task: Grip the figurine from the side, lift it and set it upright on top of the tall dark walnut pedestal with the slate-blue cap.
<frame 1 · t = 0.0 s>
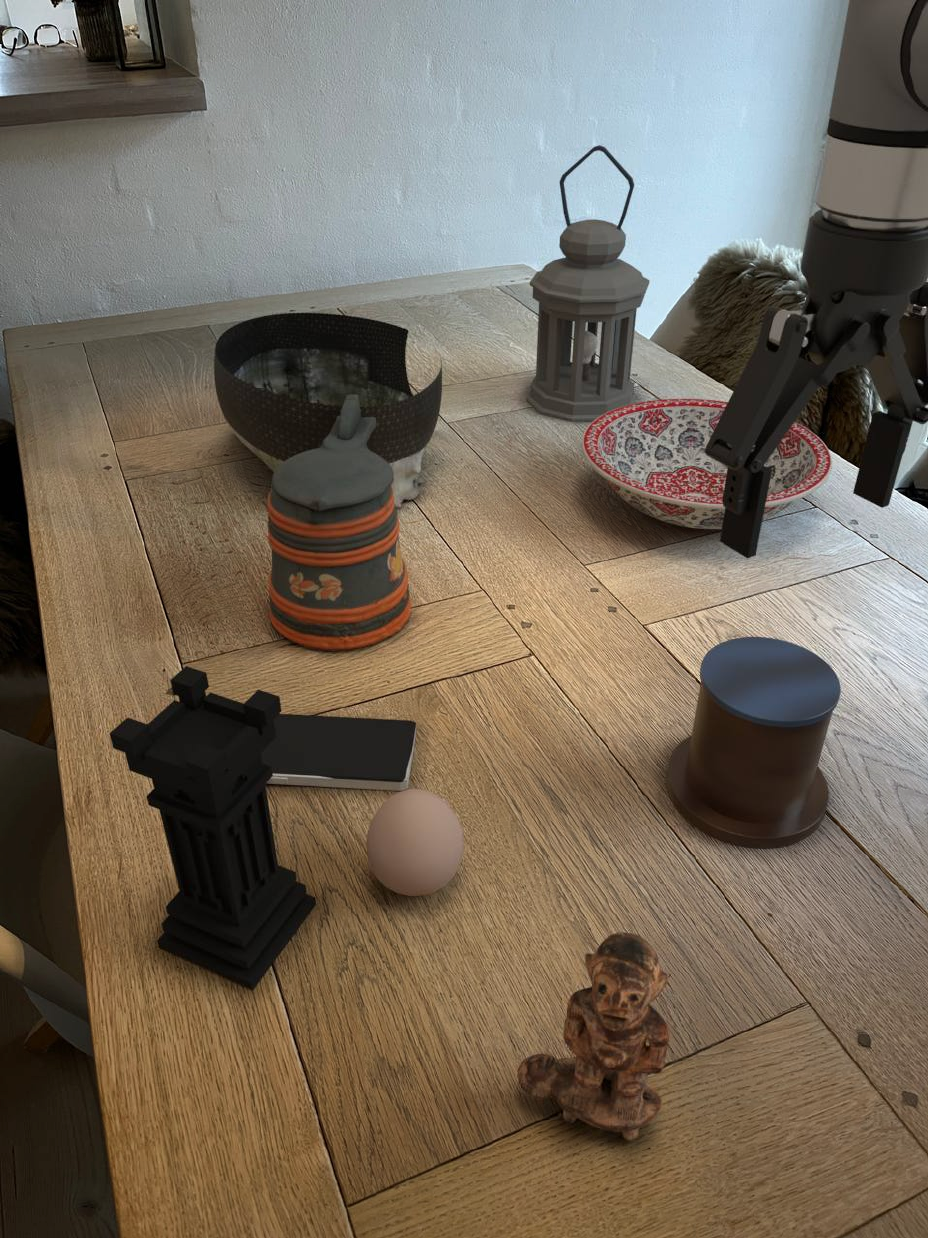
hand: (806, 523, 72), 24 cm above the table, tool pointing down, fingers open, 13 cm apart
egg: (416, 881, 76), on the table
tankard: (344, 601, 107), on the table
smartphone: (326, 757, 87), on the table
pedestal: (744, 789, 84), on the table
ceramic bowl: (695, 507, 124), on the table
figurine: (584, 1112, 61), on the table
basket: (334, 464, 133), on the table
chess piece: (239, 927, 72), on the table
lantern: (581, 400, 151), on the table
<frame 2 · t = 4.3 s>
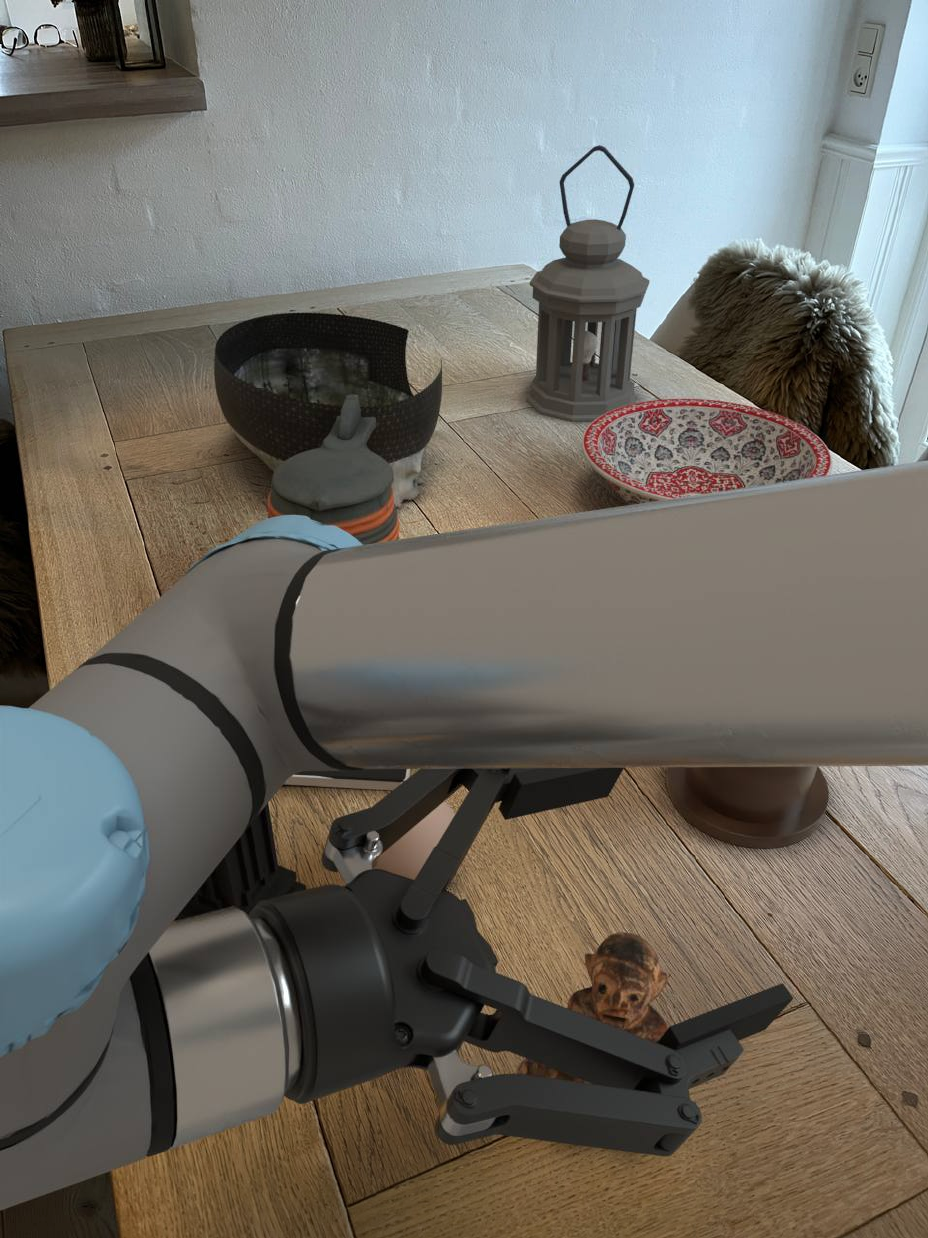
hand: (687, 880, 49), 21 cm above the table, tool horizontal, fingers open, 13 cm apart
nothing on the table moved.
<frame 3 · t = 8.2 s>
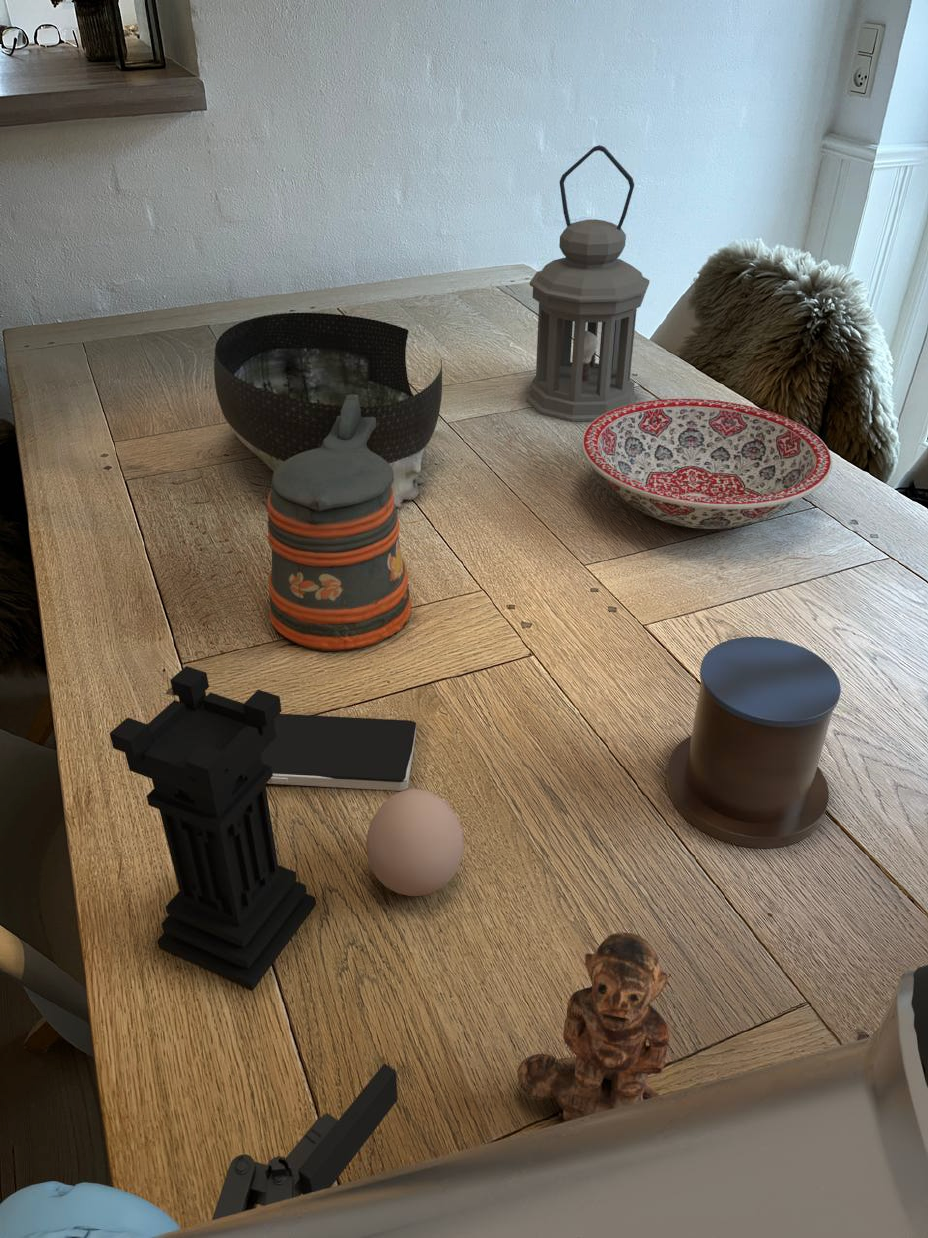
hand: (502, 1156, 49), 10 cm above the table, tool horizontal, fingers open, 13 cm apart
nothing on the table moved.
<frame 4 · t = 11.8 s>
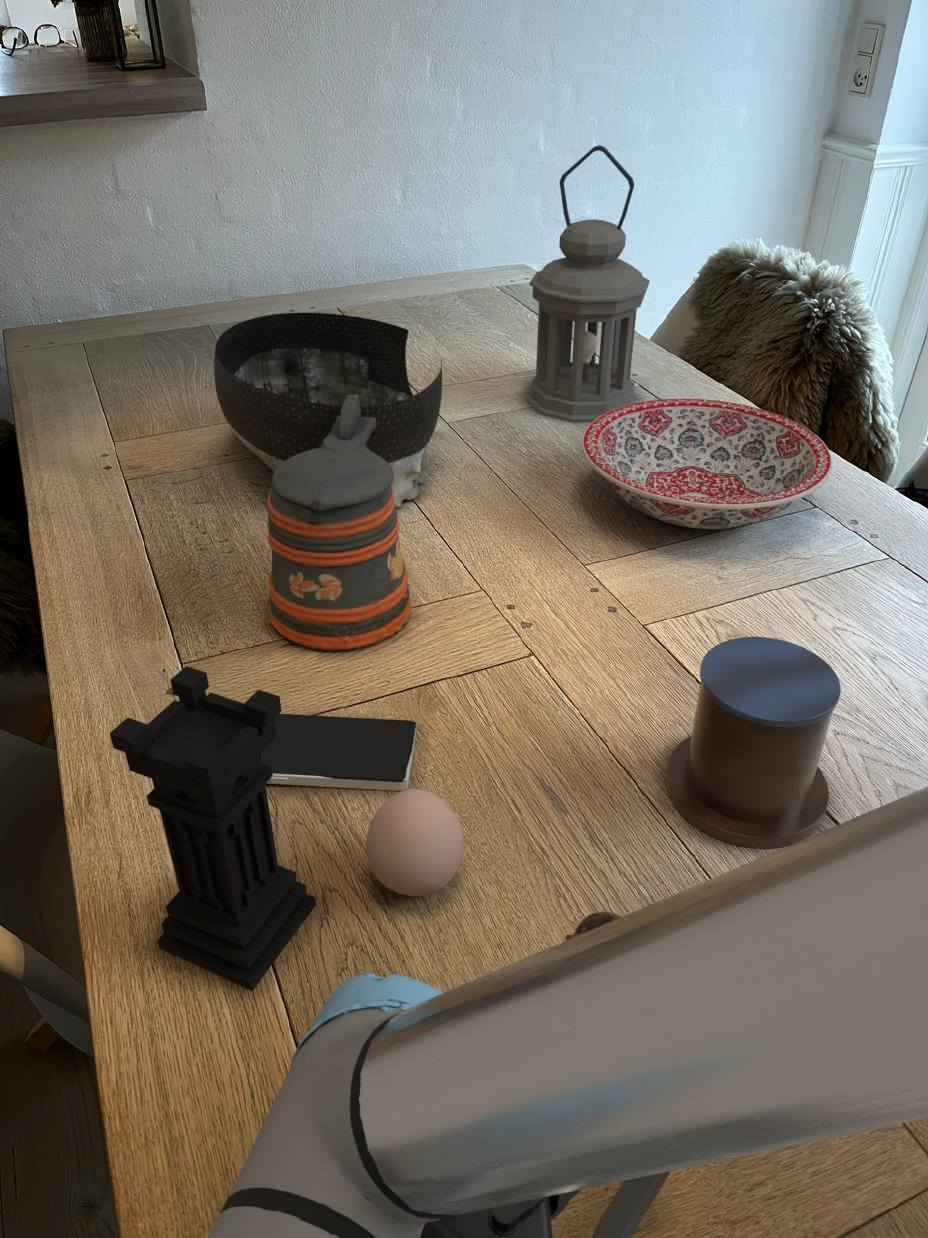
hand: (636, 970, 60), 8 cm above the table, tool horizontal, fingers closed on figurine, 6 cm apart
figurine: (585, 1110, 61), on the table, touching gripper
everything else where it was.
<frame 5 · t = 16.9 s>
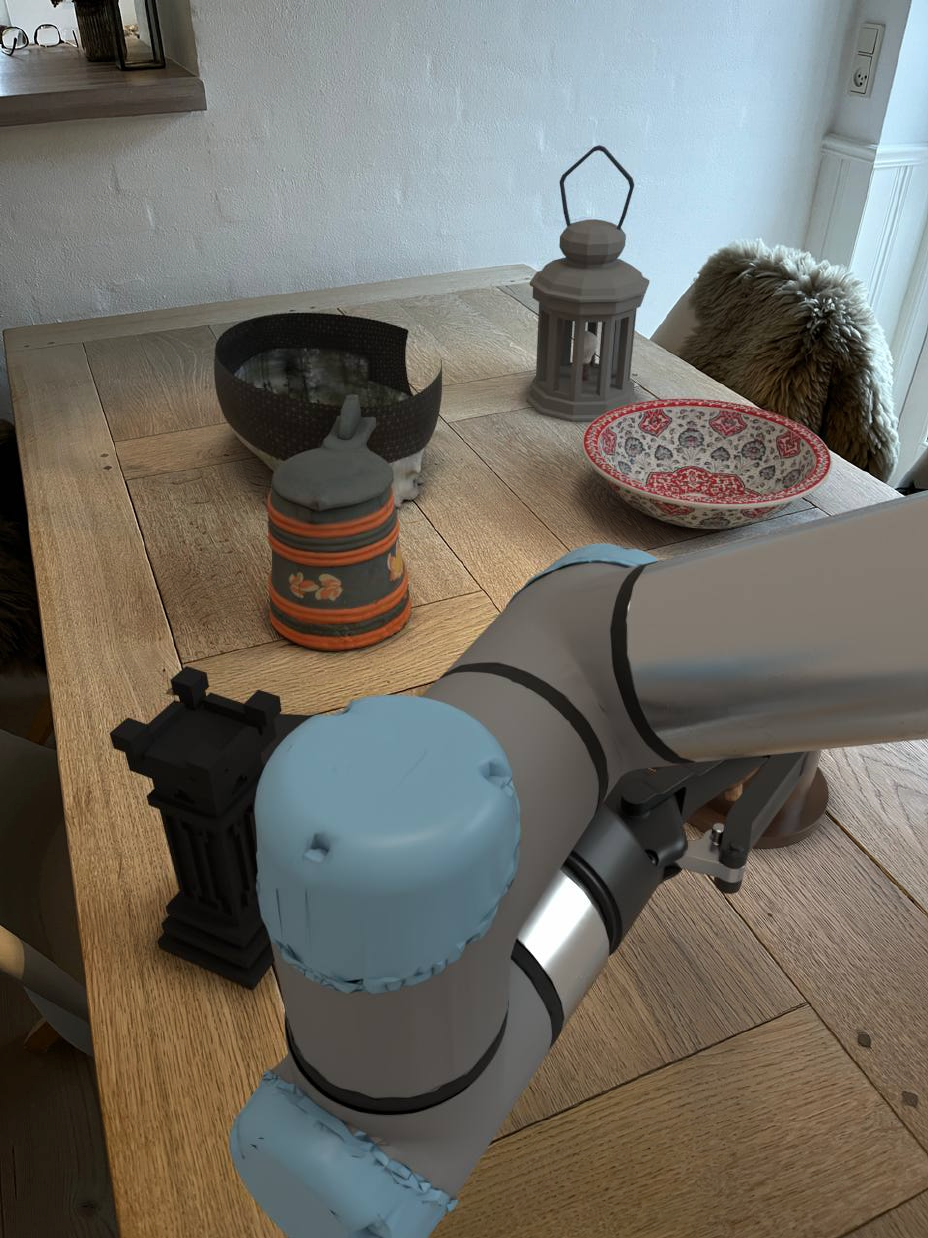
hand: (738, 640, 59), 25 cm above the table, tool horizontal, fingers closed on figurine, 6 cm apart
figurine: (684, 790, 60), point 17 cm above the table, touching gripper
everything else where it was.
when the fingers open (20 cm above the table, at t = 21.9 s): figurine stays where it is, resting on pedestal.
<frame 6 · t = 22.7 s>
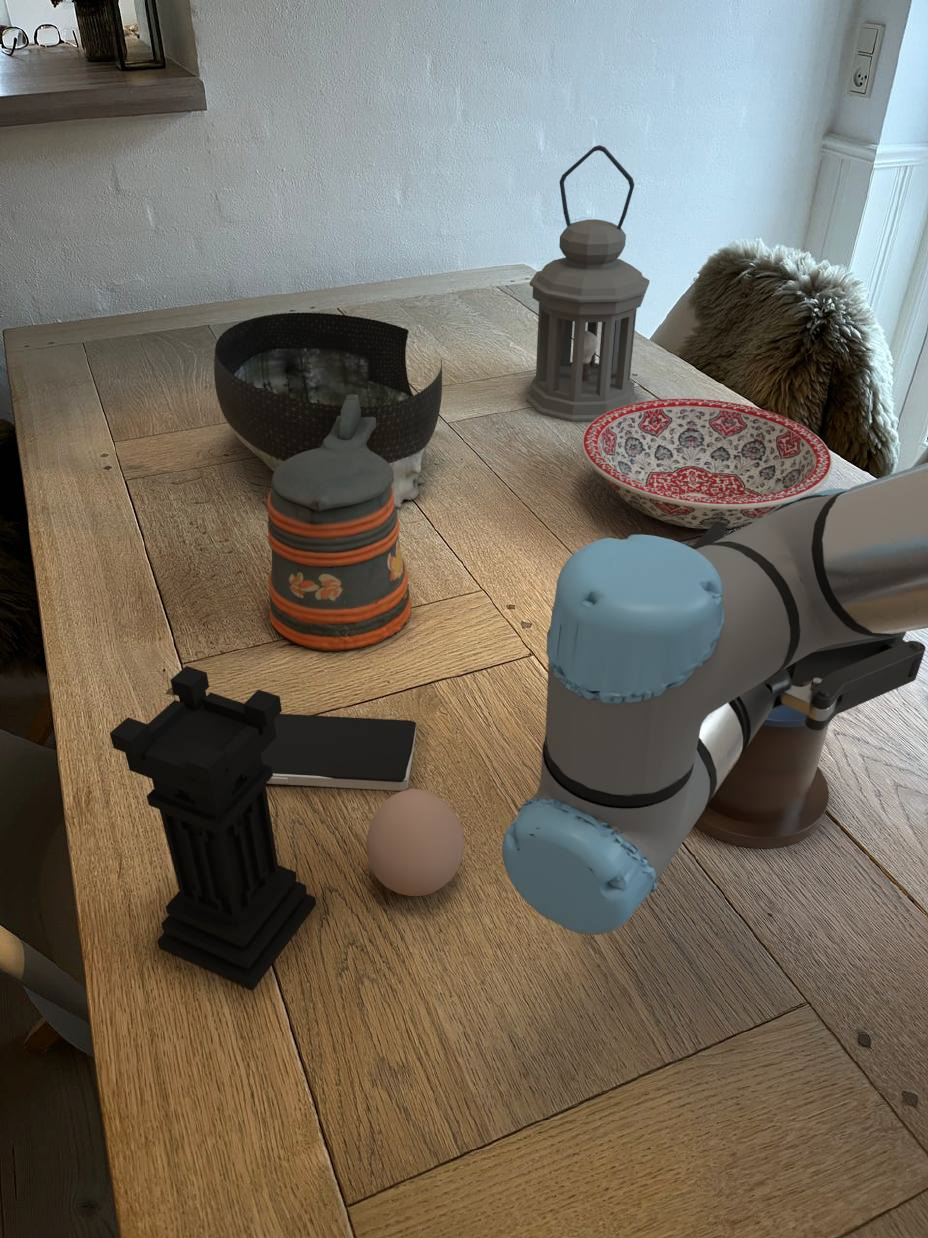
hand: (806, 563, 74), 20 cm above the table, tool horizontal, fingers open, 13 cm apart
figurine: (768, 678, 77), point 12 cm above the table, touching pedestal
everything else where it was.
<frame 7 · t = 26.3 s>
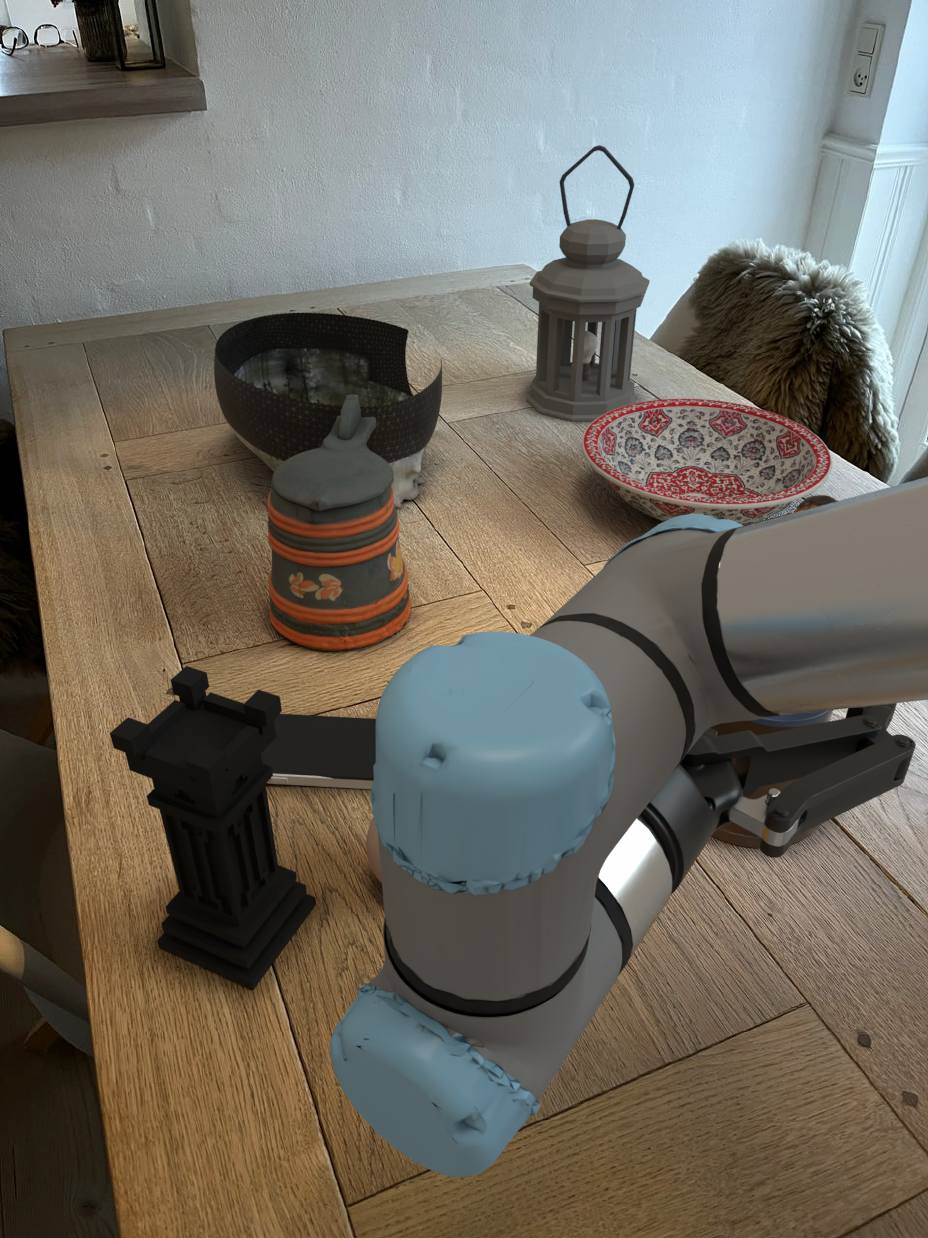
hand: (771, 624, 60), 25 cm above the table, tool horizontal, fingers open, 13 cm apart
nothing on the table moved.
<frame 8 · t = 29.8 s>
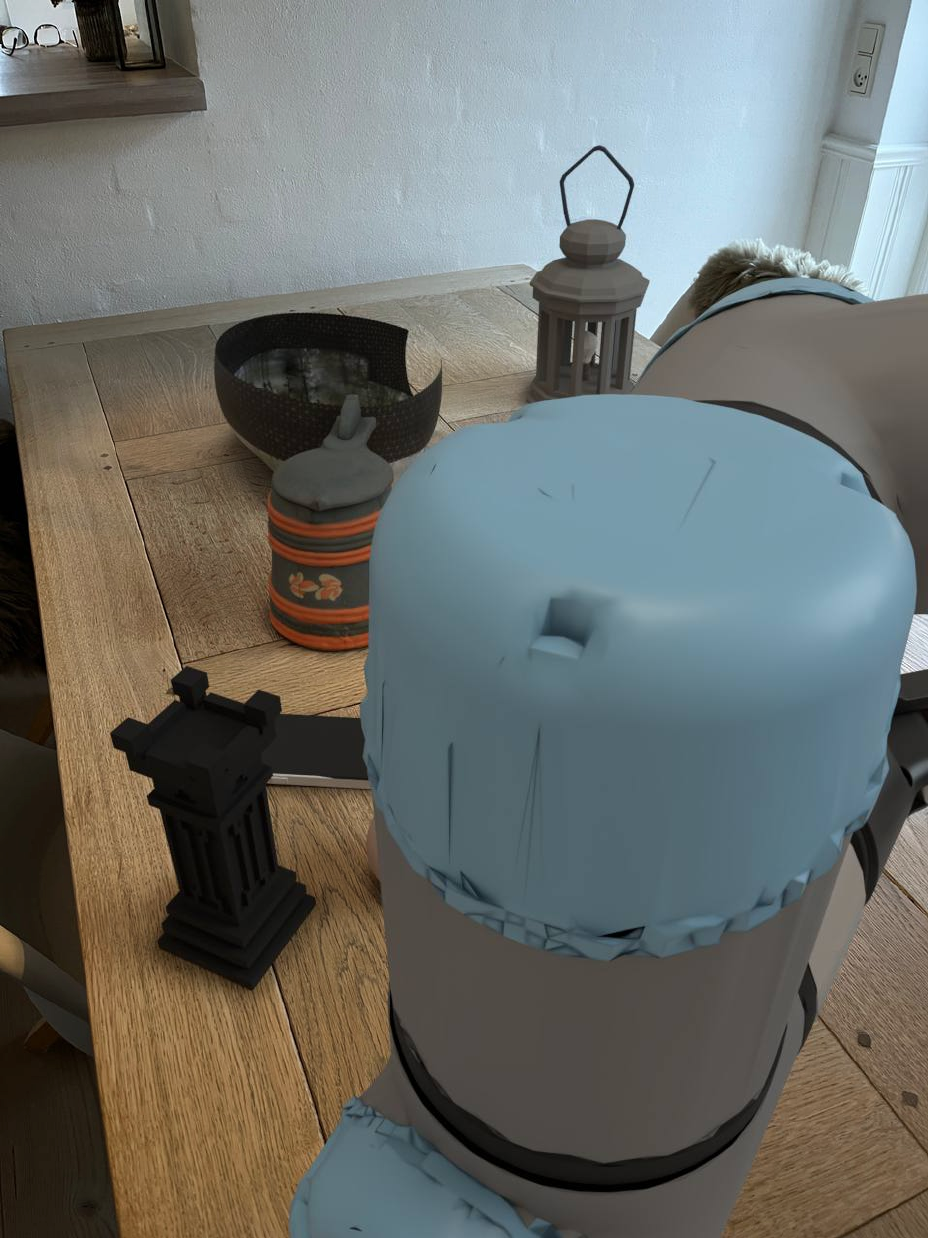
hand: (926, 533, 43), 38 cm above the table, tool horizontal, fingers open, 13 cm apart
nothing on the table moved.
at the end: figurine inside the target area on the pedestal (0.1 cm from its centre), point 11.8 cm above the pedestal's base; figurine tilted 0°; the gripper is holding nothing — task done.
